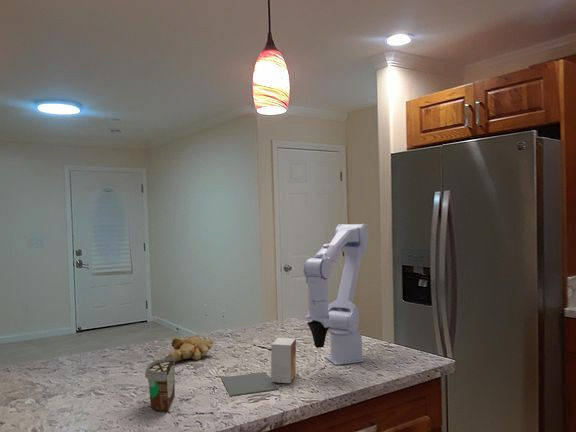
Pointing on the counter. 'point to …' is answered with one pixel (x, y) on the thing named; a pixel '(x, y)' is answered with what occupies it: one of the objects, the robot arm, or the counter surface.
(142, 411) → the counter surface
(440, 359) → the counter surface
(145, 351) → the counter surface
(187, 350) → the ginger root
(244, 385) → the mat
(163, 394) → the food container
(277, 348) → the small box
